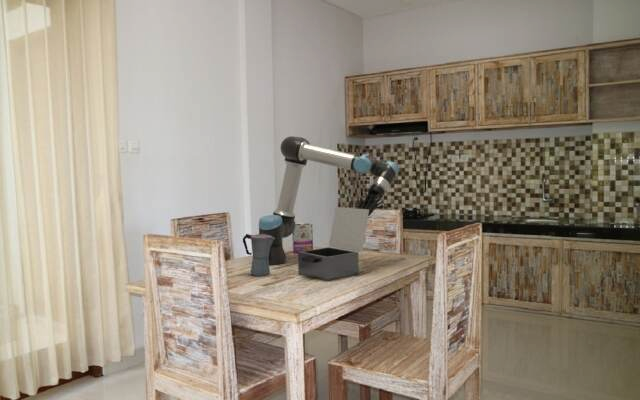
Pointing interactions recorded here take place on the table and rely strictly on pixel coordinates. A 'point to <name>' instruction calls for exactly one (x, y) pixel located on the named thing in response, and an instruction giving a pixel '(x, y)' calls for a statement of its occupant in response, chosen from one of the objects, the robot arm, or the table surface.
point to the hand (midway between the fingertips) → (353, 226)
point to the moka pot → (259, 253)
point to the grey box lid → (349, 228)
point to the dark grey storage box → (328, 263)
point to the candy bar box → (302, 237)
